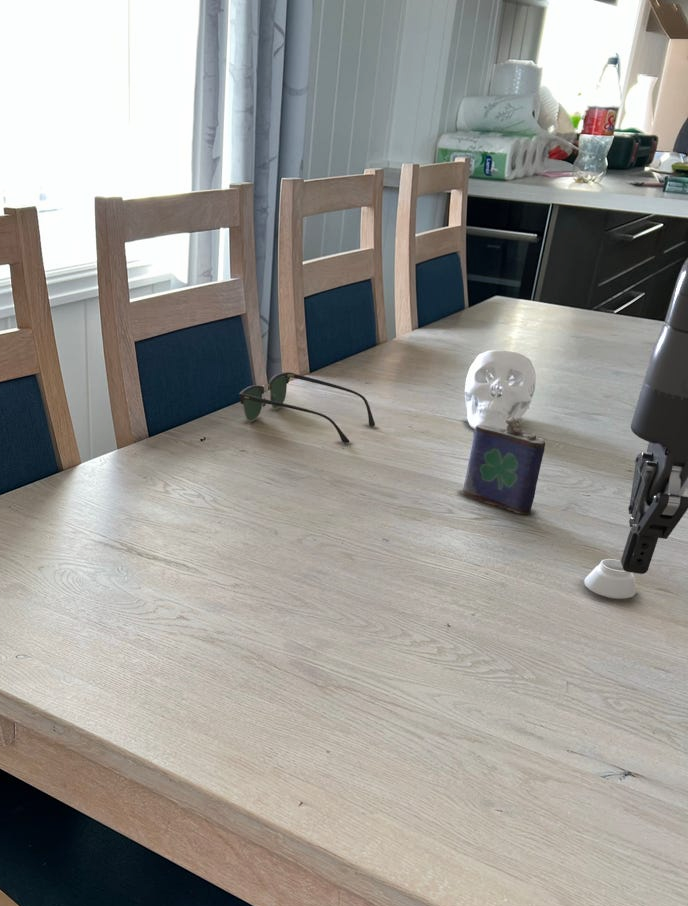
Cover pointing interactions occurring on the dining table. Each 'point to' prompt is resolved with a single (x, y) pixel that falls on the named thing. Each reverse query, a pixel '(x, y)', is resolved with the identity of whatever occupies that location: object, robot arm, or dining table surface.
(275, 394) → the sunglasses
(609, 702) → the dining table surface
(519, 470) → the flask
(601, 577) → the small white bowl
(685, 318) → the robot arm
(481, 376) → the skull bowl
